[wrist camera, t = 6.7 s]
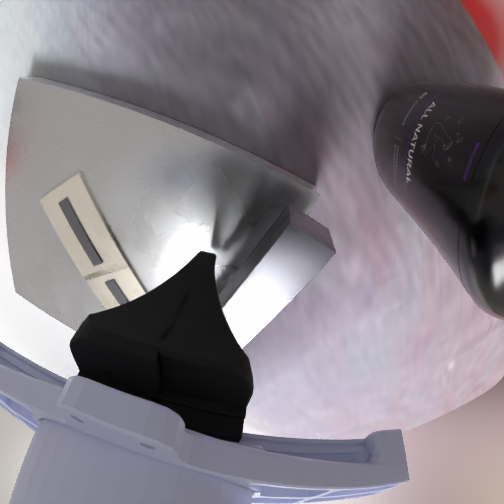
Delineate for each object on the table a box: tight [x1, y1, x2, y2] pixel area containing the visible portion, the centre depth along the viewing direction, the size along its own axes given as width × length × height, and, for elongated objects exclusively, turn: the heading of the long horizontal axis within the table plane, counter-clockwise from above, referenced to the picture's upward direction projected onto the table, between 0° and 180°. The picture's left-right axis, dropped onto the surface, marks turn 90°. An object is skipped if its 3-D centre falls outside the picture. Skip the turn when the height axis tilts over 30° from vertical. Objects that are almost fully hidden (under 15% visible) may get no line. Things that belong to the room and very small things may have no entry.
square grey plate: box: [5, 76, 319, 331], centre depth 15 cm, size 18×18×2 cm
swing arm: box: [219, 203, 336, 348], centre depth 14 cm, size 17×3×2 cm, turn 148°
